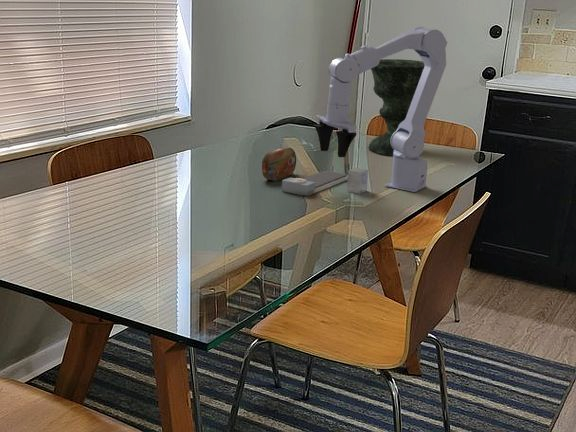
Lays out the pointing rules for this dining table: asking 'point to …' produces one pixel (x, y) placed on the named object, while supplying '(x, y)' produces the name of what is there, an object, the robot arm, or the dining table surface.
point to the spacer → (357, 180)
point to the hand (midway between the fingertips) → (332, 153)
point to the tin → (279, 164)
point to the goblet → (394, 96)
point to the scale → (313, 182)
